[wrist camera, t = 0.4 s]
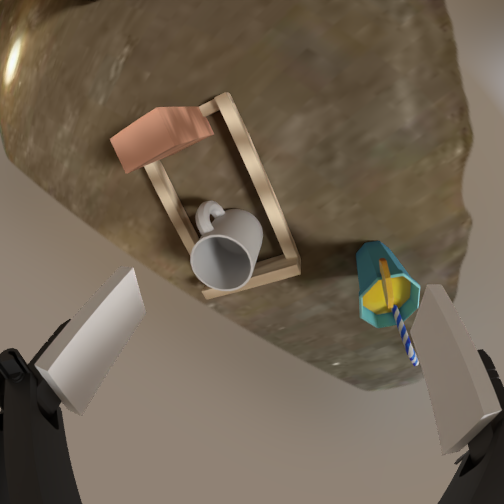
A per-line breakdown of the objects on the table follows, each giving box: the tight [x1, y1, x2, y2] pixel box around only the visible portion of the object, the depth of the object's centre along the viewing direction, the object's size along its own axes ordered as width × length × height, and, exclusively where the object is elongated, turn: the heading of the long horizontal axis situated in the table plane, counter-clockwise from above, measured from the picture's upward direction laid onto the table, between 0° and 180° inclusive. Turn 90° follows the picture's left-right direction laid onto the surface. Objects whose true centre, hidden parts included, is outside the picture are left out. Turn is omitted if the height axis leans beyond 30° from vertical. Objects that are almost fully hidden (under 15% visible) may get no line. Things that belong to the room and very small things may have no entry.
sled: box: [110, 92, 301, 299], centre depth 32 cm, size 24×14×12 cm, turn 24°
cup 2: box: [356, 241, 420, 366], centre depth 32 cm, size 14×8×15 cm, turn 37°
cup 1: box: [190, 201, 263, 291], centre depth 35 cm, size 7×10×9 cm
